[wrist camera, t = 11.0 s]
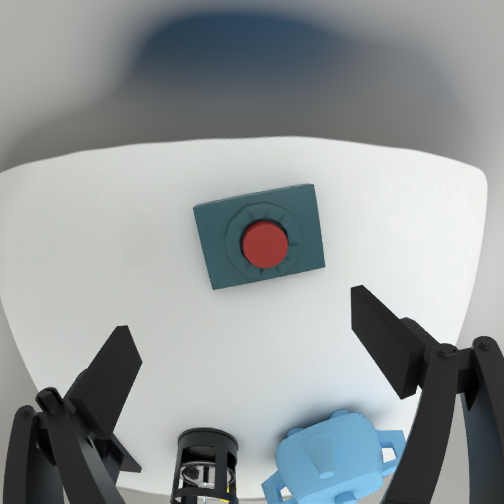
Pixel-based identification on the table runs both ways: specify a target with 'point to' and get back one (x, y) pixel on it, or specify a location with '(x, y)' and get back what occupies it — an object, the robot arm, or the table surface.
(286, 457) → the teapot
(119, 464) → the ball knob lever stand
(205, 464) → the french press
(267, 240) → the stop button
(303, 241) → the button box
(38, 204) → the table surface
